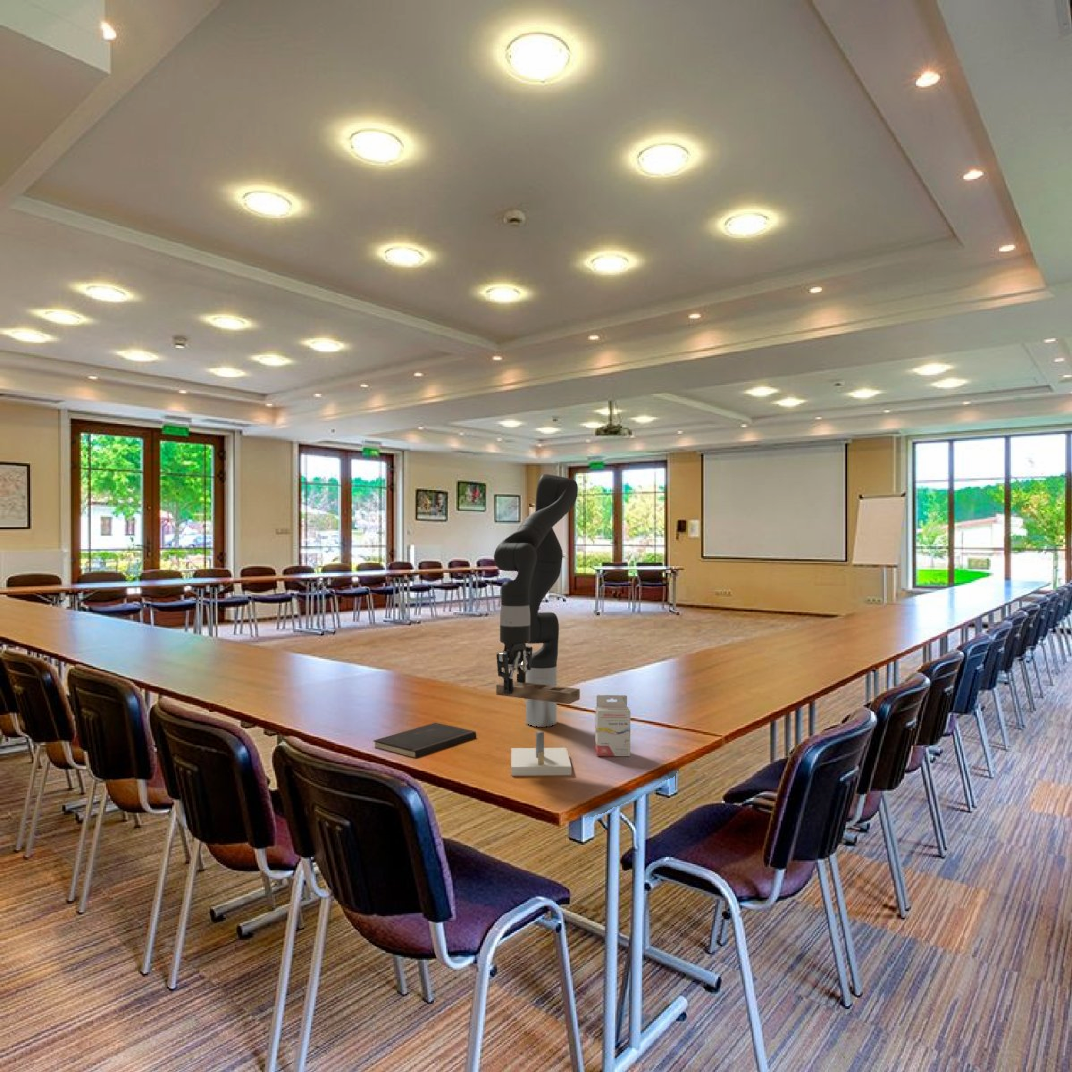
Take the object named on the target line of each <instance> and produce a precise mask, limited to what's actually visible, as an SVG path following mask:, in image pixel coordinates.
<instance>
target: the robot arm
mask: <svg viewBox="0 0 1072 1072" xmlns="http://www.w3.org/2000/svg"><path fill="white" fill-rule="evenodd" d="M578 493H579V486H578V483H577V482H576V480H575V479H573V478H569V477H566V476H565V477H564V476H559V475H554V474H547V473H546V474H542V475H541V476H540V478H539V479H538V482H537V486H536V491H535V494H536V495H535V507H534V508H535V510H534V511H535V512H533V513H531V514H529V515H528V516H527V517H525V519H523V521H522V523H521V524H520V525H519V527H518V528H517V529H516V531H515V532H513V533H511V534H510V535H509V536H507V537H506V538H504V539H503V540H502V541H501V542H500V543H499V544H498V545H497V547H496V548H495V551H494V554H493V561H494V565H495V566H496V568H497V569H499V570H500V571H502V572H503V571H504V572H517V574H516V577H515V578H514V579H511V580H507V581H504V582H503V583H502V585H501V587H500V611H499V613H500V614H499V641H500V643H502V644H503V645H504V648H503V650H502V652H497V653H496V666H497V667H496V668H497V676H498V677H500V678H502V679H503V682H504V693H505V694H512V693H513V681H514V679H513V677H514V674H515V671H516V673H517V674H516V682H525V683H533V684H542V685H551V686H558V683H557V682H558V677H557V676H558V675H557V674H558V671H557V669H558V666H557V665H558V656H559V638H560V637H559V635H560V632H559V631H560V626H559V625H560V624H559V619H558V616H557V614H556V613H554V612H551V611H550V612H549V611H548V612H547V611H546V612H544V611H543V612H539V610H540V606H541V604H542V601H543V600H544V599H545V597H546V595H547V594H548V593H549V591H550V590H551V589H552V588H553V586H554V585H555V583H557V581H558V580H559V578H560V575H561V572H562V564H563V557H564V556H563V555H564V552H563V549H562V546H561V543H560V541H559V539H558V537H557V535H556V533H555V530H554V528H553V527H554V526H555V525H557V524H558V522H560V521H561V520H562V519H563V518H564V517H565V516H566V515H567V513H569V512H570V511H571V510H572V508H573V507H574V505H575V504H576V501H577V499H578ZM527 644H530V645H533V644H534V645H535V644H537V645H538V644H542V646H541V647H540V649H538V650H537V651H535V652H533V649H534V648H533V646H528V645H527ZM557 706H558V703H556V702H548V701H540V700H533V699H525V724H526V723H527V725H528V724H529V725H528V726H530V725H532V726H531V727H536V726H537V727H538V728H541V727H542V728H545V727H546V726H547V727H552V725H553V726H555V725H557V723H558V722H557V717H558V715H557V713H558V712H557V711H558V709H557V708H558V707H557Z"/></svg>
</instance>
